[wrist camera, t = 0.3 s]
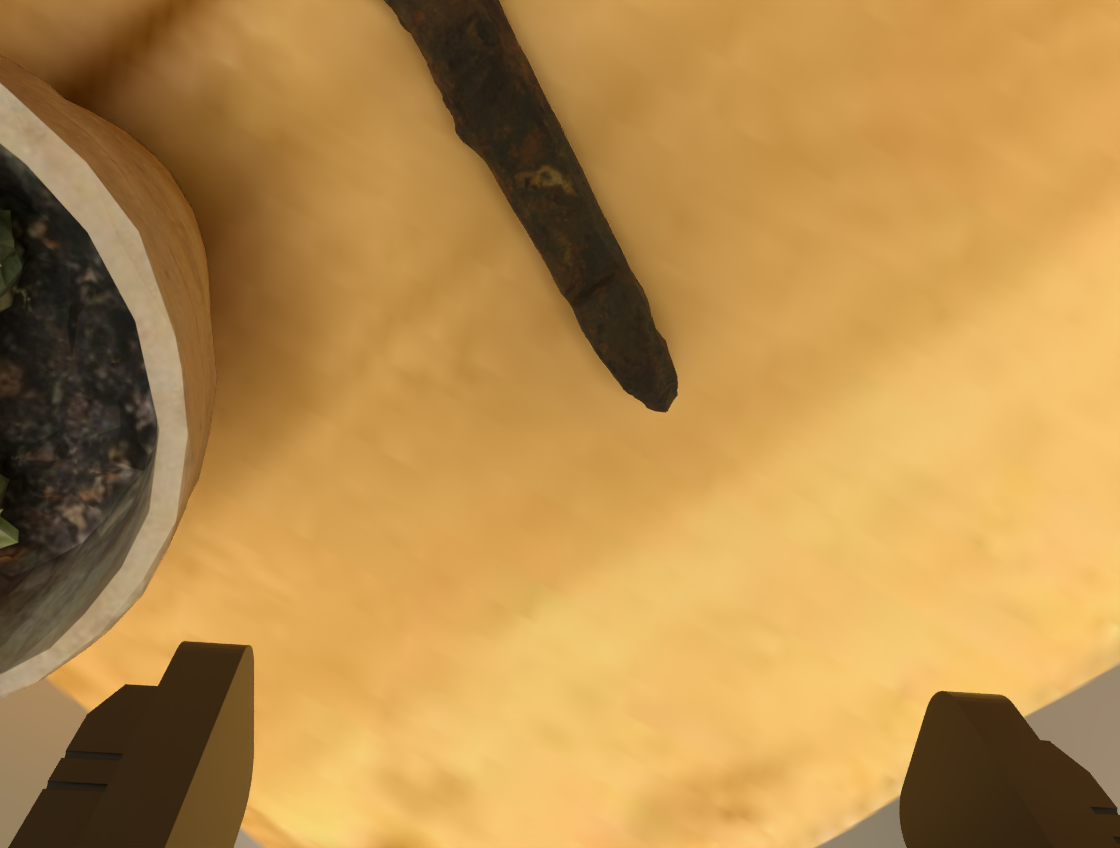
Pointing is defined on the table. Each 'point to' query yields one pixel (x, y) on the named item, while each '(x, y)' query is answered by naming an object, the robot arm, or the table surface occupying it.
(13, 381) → the potted plant
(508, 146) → the hand tool
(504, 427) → the table surface
